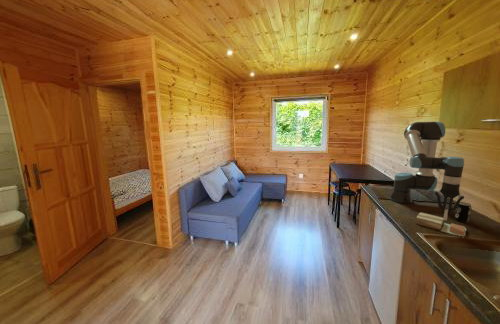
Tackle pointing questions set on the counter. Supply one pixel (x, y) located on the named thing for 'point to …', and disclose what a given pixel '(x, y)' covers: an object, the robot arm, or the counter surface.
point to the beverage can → (463, 212)
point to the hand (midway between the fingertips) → (445, 219)
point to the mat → (446, 229)
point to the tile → (457, 229)
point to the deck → (429, 220)
